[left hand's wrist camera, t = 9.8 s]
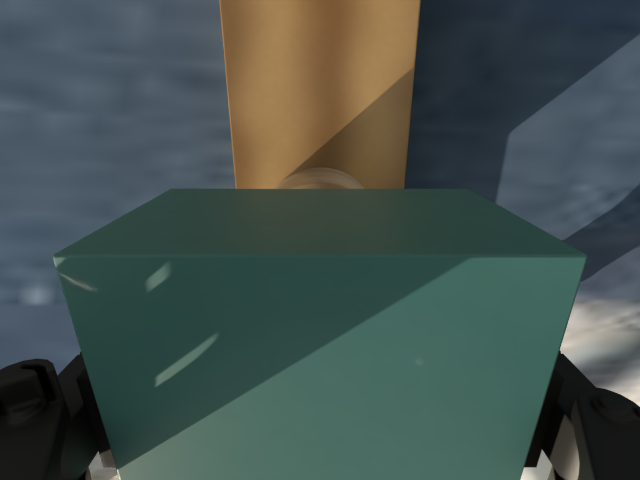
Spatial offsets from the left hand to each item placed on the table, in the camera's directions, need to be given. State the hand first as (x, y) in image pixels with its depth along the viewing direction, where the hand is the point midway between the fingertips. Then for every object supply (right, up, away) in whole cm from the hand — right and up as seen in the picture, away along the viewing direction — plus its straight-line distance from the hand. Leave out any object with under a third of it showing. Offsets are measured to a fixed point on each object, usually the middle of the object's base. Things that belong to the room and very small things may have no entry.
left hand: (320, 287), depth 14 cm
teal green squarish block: (0, -1, -2) cm, 2 cm away
